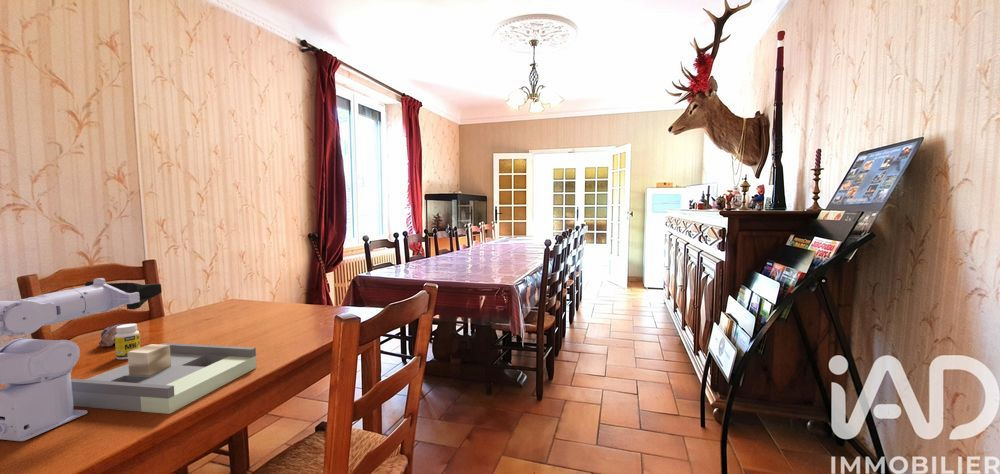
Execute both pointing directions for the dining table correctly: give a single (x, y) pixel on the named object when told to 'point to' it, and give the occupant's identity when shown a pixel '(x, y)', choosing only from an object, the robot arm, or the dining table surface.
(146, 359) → the birch block
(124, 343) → the supplement bottle
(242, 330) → the dining table surface
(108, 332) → the skull
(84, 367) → the dining table surface
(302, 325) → the dining table surface
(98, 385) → the board
